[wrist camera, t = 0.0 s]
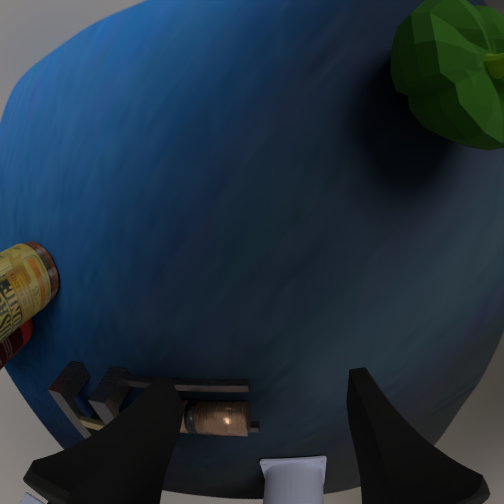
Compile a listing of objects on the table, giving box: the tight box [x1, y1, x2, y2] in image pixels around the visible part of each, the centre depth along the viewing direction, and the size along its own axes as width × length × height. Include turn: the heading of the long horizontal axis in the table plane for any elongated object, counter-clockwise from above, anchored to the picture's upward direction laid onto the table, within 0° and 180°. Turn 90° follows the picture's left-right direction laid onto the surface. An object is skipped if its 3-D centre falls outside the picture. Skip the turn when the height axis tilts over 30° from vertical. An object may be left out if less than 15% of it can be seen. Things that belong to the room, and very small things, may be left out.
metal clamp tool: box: [48, 361, 260, 439], centre depth 24 cm, size 9×20×5 cm, turn 99°
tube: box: [180, 400, 251, 436], centre depth 24 cm, size 10×3×3 cm, turn 99°
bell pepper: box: [390, 0, 504, 150], centre depth 9 cm, size 8×8×10 cm
